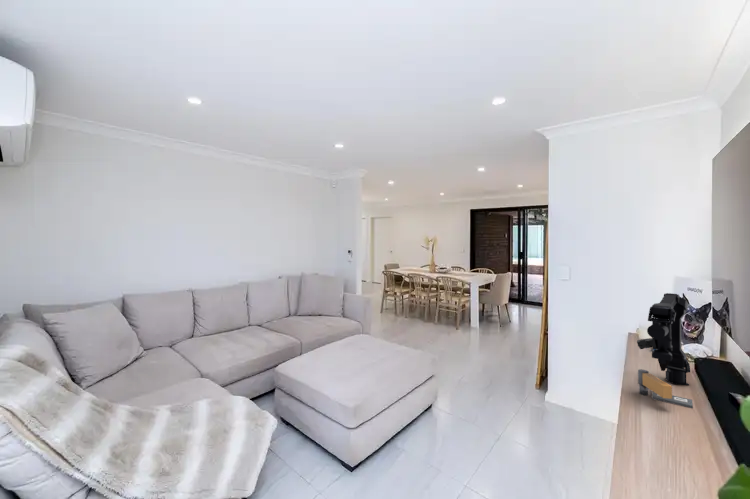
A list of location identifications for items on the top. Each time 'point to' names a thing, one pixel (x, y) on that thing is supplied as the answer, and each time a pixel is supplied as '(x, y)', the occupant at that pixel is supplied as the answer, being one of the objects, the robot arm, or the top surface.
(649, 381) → the swing bar
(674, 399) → the label plate
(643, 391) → the grey grooved cylinder
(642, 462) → the top surface
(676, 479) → the top surface
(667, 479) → the top surface
